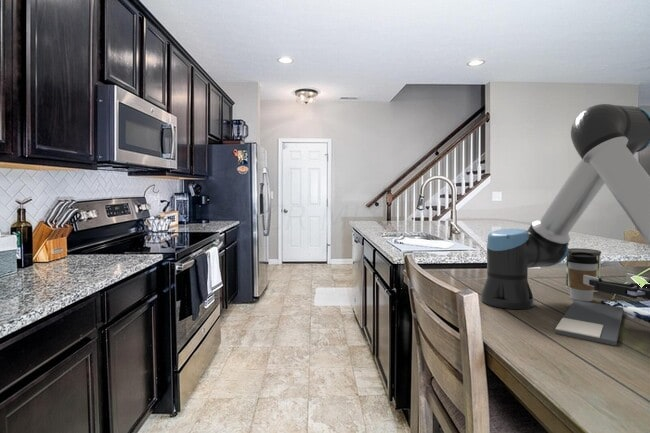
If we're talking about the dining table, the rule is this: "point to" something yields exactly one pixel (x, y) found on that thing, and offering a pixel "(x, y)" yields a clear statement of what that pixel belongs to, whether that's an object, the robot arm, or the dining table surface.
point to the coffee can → (587, 252)
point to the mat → (591, 322)
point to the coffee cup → (581, 274)
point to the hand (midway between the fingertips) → (605, 278)
